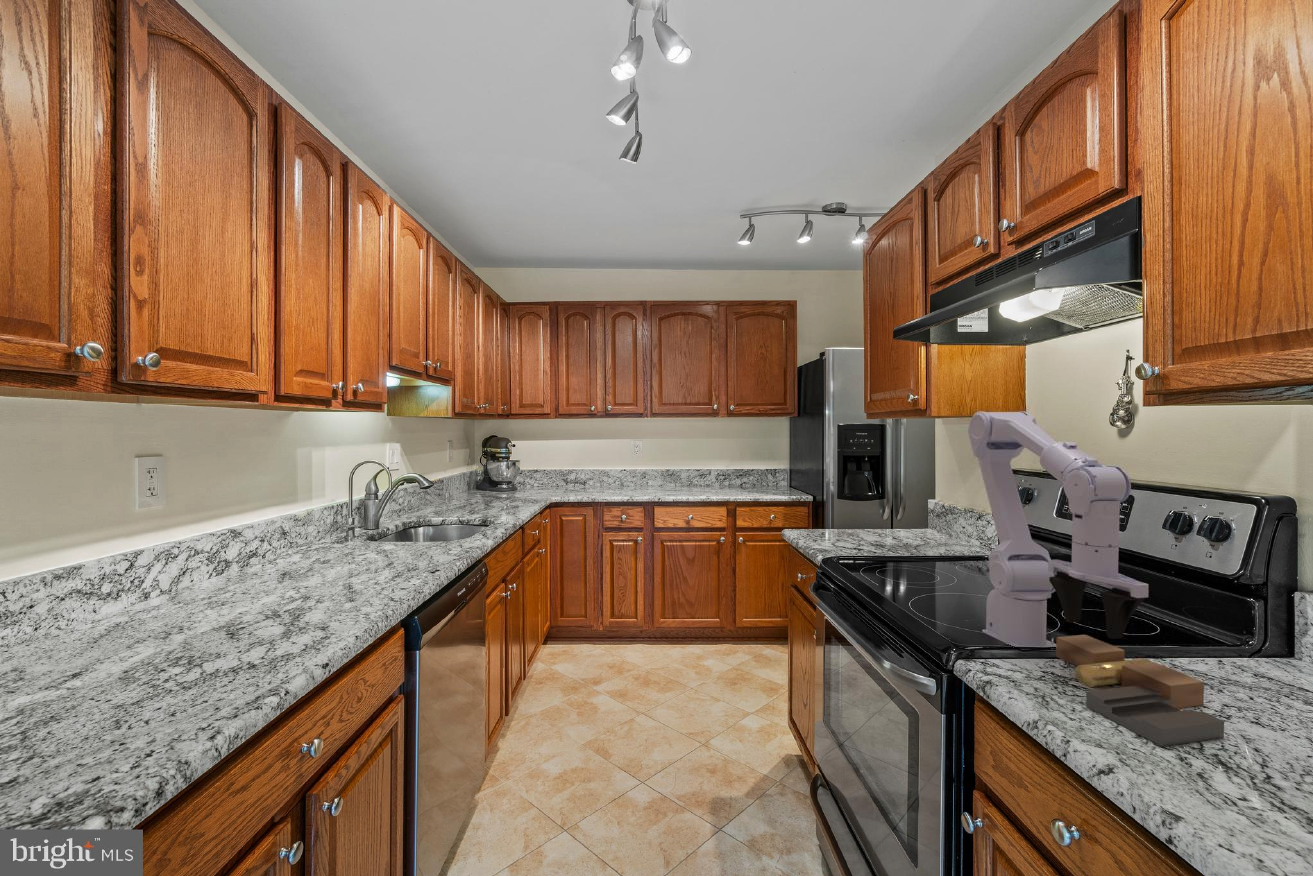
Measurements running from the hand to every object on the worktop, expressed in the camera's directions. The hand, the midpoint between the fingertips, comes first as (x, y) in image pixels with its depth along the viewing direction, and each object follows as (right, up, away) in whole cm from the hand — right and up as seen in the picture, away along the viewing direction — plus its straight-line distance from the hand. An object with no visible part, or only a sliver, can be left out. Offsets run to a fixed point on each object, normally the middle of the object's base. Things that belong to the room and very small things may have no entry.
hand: (1092, 629), depth 87 cm
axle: (+4, -9, +1) cm, 10 cm away
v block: (-1, -9, -11) cm, 14 cm away
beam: (+6, -8, +1) cm, 10 cm away
